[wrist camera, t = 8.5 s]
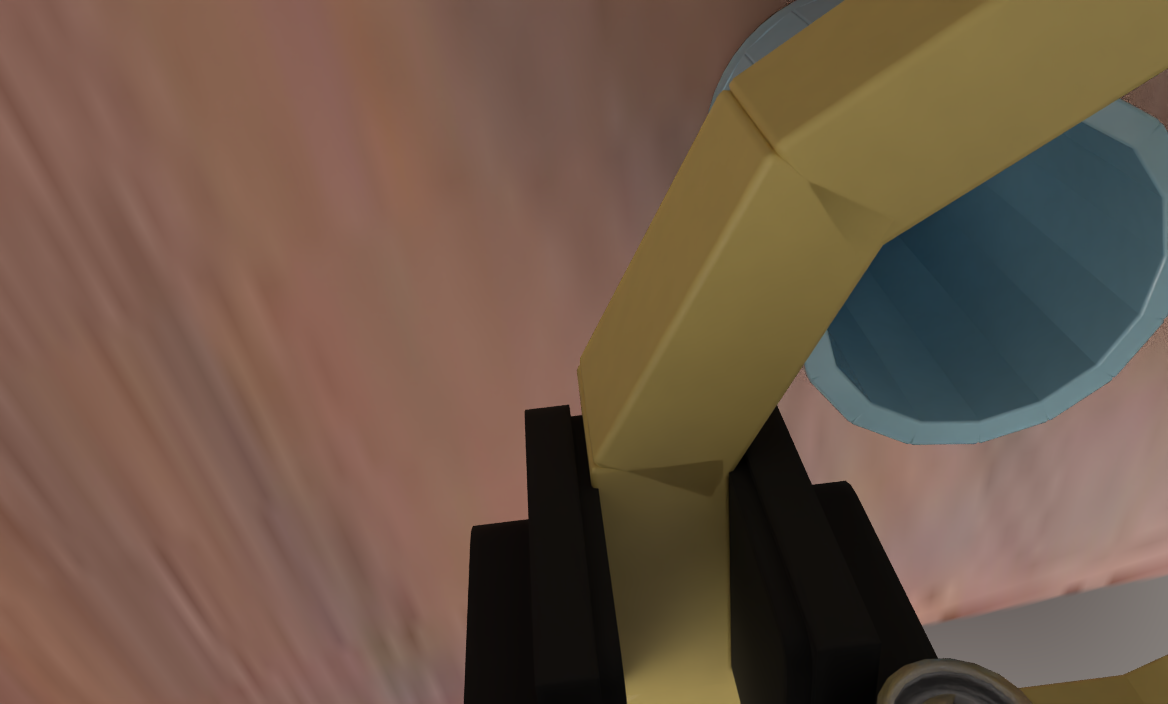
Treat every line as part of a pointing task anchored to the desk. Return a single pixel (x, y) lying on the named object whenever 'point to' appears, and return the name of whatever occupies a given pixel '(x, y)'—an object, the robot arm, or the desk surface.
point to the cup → (1001, 282)
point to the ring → (809, 275)
